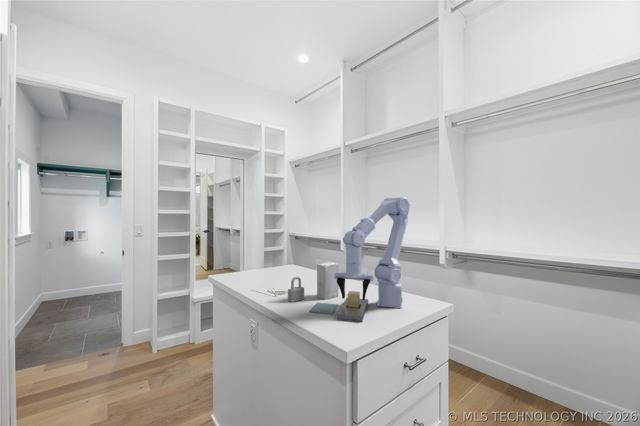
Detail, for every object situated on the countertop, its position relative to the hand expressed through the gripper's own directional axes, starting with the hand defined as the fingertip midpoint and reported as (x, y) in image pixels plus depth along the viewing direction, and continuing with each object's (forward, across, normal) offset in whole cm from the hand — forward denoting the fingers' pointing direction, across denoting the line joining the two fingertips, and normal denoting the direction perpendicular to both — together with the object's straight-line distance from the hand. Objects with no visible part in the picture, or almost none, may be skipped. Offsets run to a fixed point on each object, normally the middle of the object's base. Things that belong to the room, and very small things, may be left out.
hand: (353, 298), depth 108 cm
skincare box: (+5, -14, +16) cm, 22 cm away
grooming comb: (+5, -43, +18) cm, 47 cm away
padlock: (+5, -26, +8) cm, 28 cm away
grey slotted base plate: (+5, 0, 0) cm, 5 cm away
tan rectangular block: (+5, 0, 0) cm, 5 cm away
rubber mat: (+5, -11, 0) cm, 12 cm away
